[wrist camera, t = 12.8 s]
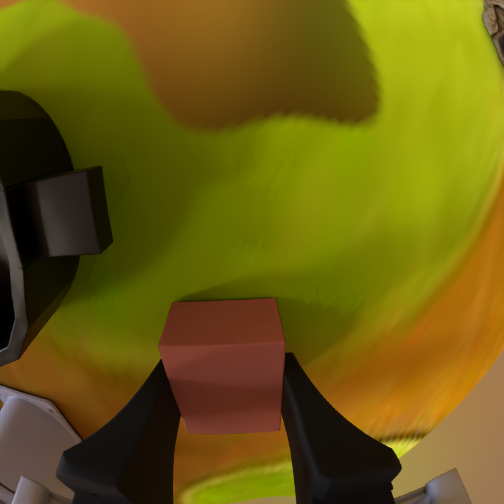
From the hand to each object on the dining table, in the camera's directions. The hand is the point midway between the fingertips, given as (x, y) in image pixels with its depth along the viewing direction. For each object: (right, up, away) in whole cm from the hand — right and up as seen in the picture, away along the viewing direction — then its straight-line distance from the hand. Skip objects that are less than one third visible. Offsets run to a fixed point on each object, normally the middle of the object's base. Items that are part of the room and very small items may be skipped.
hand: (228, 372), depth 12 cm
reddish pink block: (0, +1, +1) cm, 1 cm away
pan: (-12, +7, -2) cm, 15 cm away
